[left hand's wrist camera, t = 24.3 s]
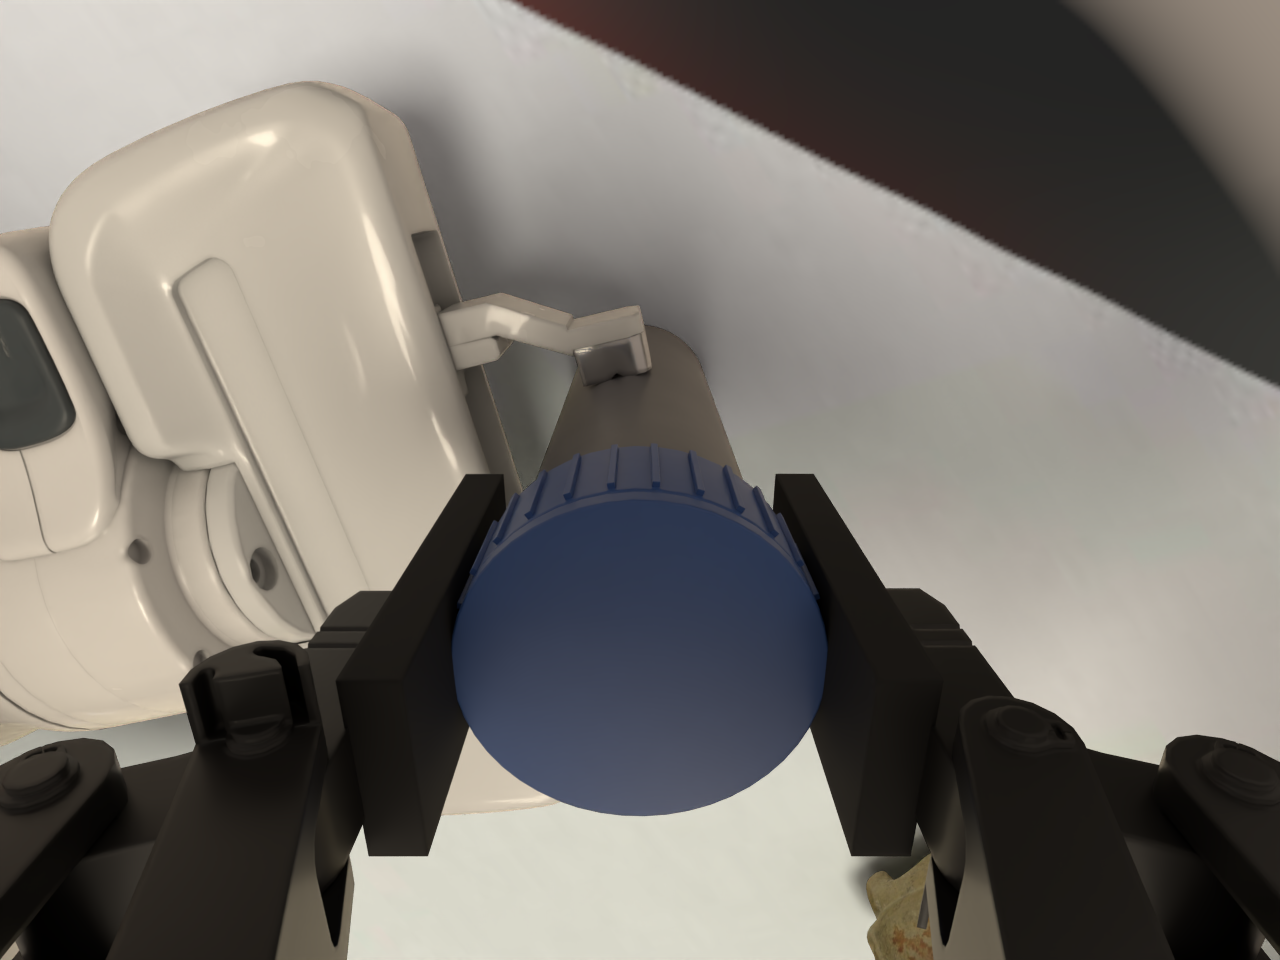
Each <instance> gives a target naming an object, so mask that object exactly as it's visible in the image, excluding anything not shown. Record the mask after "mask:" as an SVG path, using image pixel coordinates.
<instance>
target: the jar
mask: <svg viewBox="0 0 1280 960" xmlns="http://www.w3.org/2000/svg"><path fill="white" fill-rule="evenodd" d="M644 326H645V331H646V336H647V340H648V345H649V350H650V355H651V359H652V369H650V370H648V371H646V372H644V373H641V374H638V375H634V376H626V377H625V376H623V375H620V374H617V373H616V374H615V375H614V376H613V378H612V379H611V380H609V381H606V382H603V383H599V384H595V385H590V386H586V387H584V386H583V382H582V379H581V375H580V372H579V369H578V368H577V370H576V373H575V376H574V378H573V381H572V384H571V386H570V389H569V392H568V395H567V397H566V400H565V403H564V405H563V408H562V411H561V413H560V416H559V419H558V422H557V424H556V427H555V430H554V432H553V435H552V438H551V440H550V443H549V446H548V449H547V451H546V454H545V457H544V459H543V462H542V465H541V467H540V470H539V473H540V472H541V471H543V470H545V471H546V472H548V471H550V470H551V469H553V468H555V467H557V466H559V465H561V464H563V463H565V462H567V461H569V460H572V458H573V455H575V454H577V453H580V456H583V455H586V454H589V453H592V452H597V451H601V450H606V449H610V448H611V445H615V444H618V448H619V447H630V446H646V447H651V443H655V444H658V447H661V448H667V449H673V450H679V451H683V452H686V453H689V451H690V450H693V451H696V453H697V456H700V457H702V458H705V459H707V460H709V461H711V462H714V463H716V464H718V465H720V466H722V467H724V466H725V465H728V466H730V467H731V468H732V471H733V473H734V474H735V475H737V476H739V477H740V478H741V479H742V480H743V478H742V476H741V473H740V470H739V467H738V465H737V462H736V459H735V457H734V454H733V451H732V448H731V446H730V443H729V440H728V438H727V435H726V432H725V430H724V427H723V424H722V421H721V419H720V416H719V413H718V411H717V408H716V405H715V402H714V400H713V397H712V394H711V392H710V389H709V386H708V383H707V381H706V378H705V375H704V373H703V370H702V367H701V365H700V362H699V361H698V359H697V357H696V355H695V354H694V352H693V351H692V350H691V348H690V347H689V346H688V345H687V344H686V343H685V342H684V341H682V340H681V339H680V338H679V337H677V336H675V335H674V334H672V333H670V332H668V331H666V330H664V329H661V328H657V327H653V326H647V325H644ZM539 473H538V475H539ZM537 478H538V476H537ZM537 478H536V480H537Z"/></svg>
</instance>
